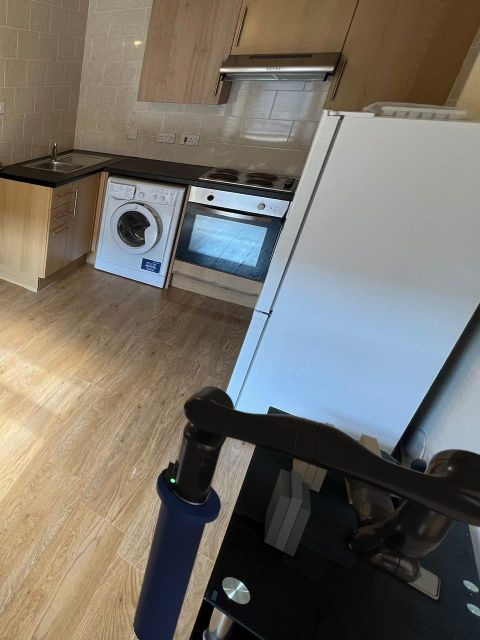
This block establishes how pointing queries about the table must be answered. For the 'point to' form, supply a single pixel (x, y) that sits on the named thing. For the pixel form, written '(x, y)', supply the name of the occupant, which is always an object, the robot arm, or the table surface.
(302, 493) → the grey books
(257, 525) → the table surface
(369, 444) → the beige thin block
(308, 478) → the beige books
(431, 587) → the smartphone
